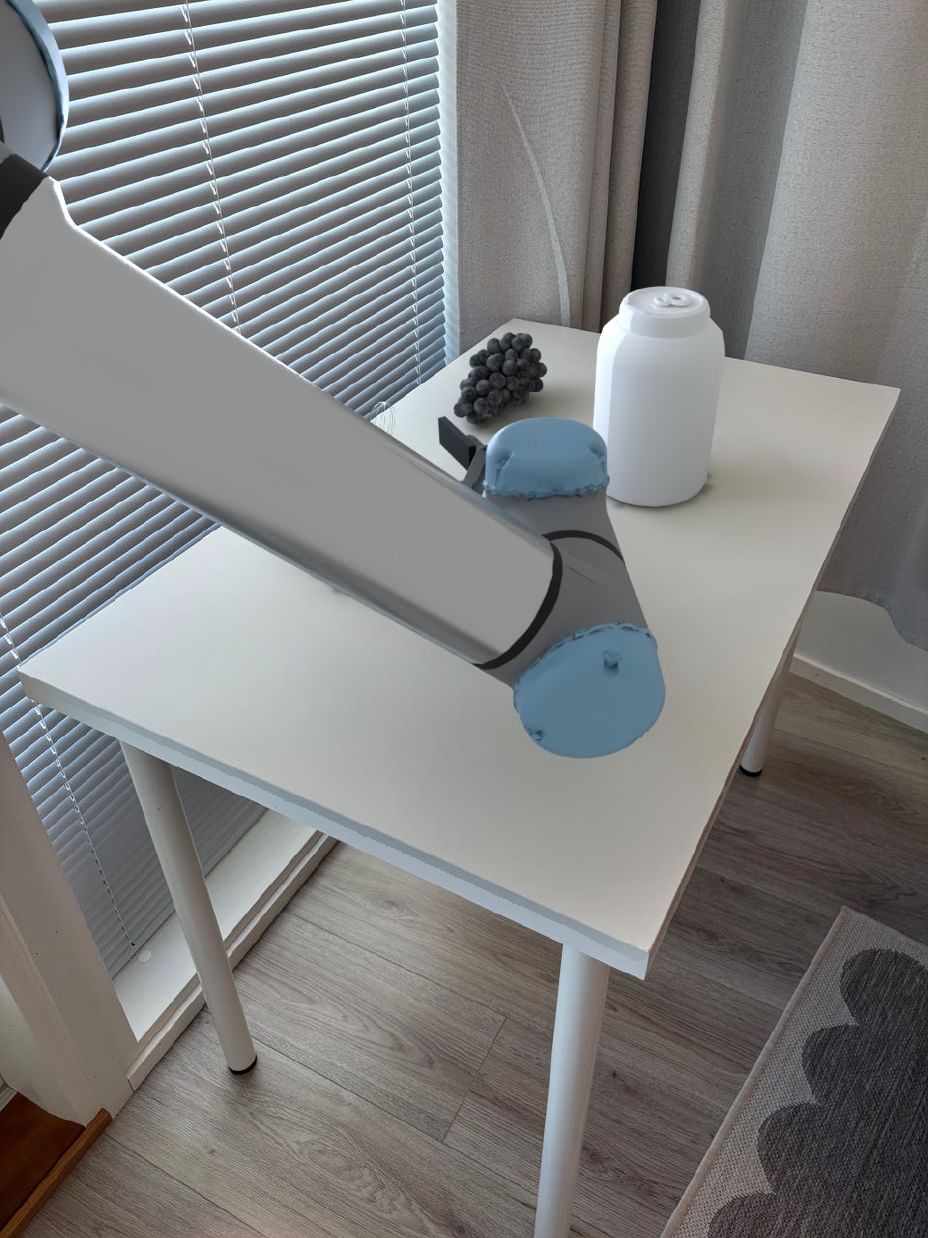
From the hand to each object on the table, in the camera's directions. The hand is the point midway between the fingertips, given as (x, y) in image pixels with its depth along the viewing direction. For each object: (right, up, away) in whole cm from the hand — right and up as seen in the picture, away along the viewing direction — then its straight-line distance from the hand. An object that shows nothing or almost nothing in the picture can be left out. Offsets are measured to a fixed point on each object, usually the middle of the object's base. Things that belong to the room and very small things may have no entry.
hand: (376, 447), depth 89 cm
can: (+28, -1, +15) cm, 32 cm away
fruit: (+12, +10, +30) cm, 33 cm away
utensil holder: (-1, -5, +8) cm, 9 cm away
